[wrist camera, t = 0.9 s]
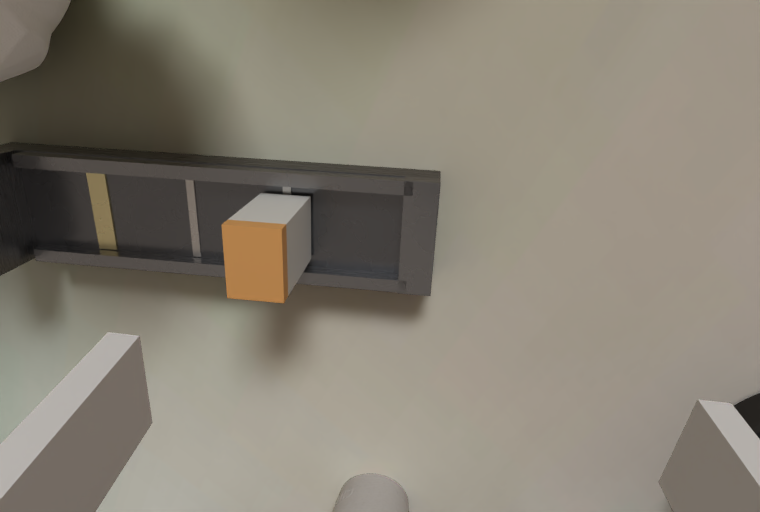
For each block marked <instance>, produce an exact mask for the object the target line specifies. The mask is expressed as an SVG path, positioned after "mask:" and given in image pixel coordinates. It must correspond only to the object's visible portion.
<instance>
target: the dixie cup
mask: <svg viewBox="0 0 760 512" xmlns="http://www.w3.org/2000/svg"><path fill="white" fill-rule="evenodd" d="M333 512H409V505H408V497H407V495H406V492H405V491H404V489H403V488H402V487H401V486H400V485H399V484H398V483H397V482H396V481H394V480H393V479H391V478H389V477H386V476H383V475H379V474H361V475H358V476H355V477H353V478H351V479H349V480H348V481H347V482H346V483H345V484H344V485H343V487H342V489H341V492H340V494H339V497H338V499H337V501H336V504H335V507H334V510H333Z"/></svg>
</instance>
